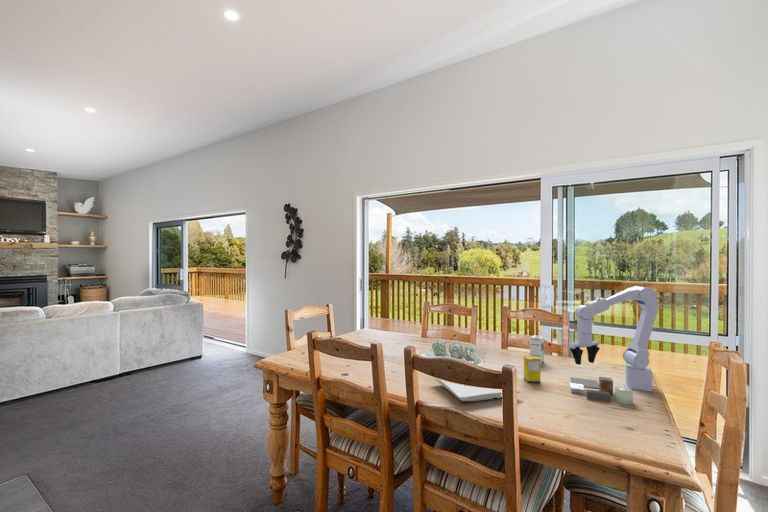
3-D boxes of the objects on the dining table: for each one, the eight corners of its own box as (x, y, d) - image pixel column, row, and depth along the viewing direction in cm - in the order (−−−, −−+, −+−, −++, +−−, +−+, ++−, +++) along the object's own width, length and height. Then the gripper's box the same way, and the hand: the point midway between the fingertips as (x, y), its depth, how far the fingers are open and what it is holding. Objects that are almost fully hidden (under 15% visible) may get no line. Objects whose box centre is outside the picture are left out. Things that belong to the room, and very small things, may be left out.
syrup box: (541, 365, 195) (541, 338, 195) (529, 363, 198) (529, 336, 198) (544, 363, 199) (544, 336, 199) (532, 361, 203) (532, 334, 203)
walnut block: (611, 392, 158) (611, 377, 158) (613, 395, 154) (613, 381, 154) (598, 390, 160) (598, 376, 160) (600, 394, 156) (600, 379, 156)
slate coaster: (596, 381, 171) (596, 380, 171) (600, 389, 161) (600, 388, 161) (570, 378, 175) (570, 377, 175) (572, 386, 165) (572, 384, 165)
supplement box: (536, 378, 175) (536, 355, 174) (540, 383, 169) (540, 359, 169) (523, 378, 175) (523, 355, 175) (527, 382, 169) (527, 358, 169)
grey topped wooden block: (570, 388, 164) (570, 382, 164) (582, 389, 162) (582, 384, 162) (571, 393, 157) (571, 387, 157) (584, 395, 155) (584, 389, 155)
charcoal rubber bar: (608, 399, 151) (608, 392, 151) (610, 402, 148) (610, 394, 148) (586, 396, 154) (586, 389, 154) (587, 399, 151) (587, 391, 151)
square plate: (460, 406, 143) (460, 396, 143) (431, 383, 170) (431, 374, 170) (520, 399, 151) (520, 389, 151) (484, 377, 177) (484, 369, 177)
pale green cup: (630, 400, 149) (631, 387, 149) (634, 406, 144) (634, 393, 144) (613, 398, 152) (613, 385, 152) (616, 403, 146) (616, 390, 146)
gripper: (589, 329, 172) (589, 359, 172) (564, 332, 167) (564, 362, 167) (602, 332, 165) (602, 363, 165) (577, 335, 160) (577, 366, 160)
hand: (584, 363), depth 165 cm, fingers open, 7 cm apart
